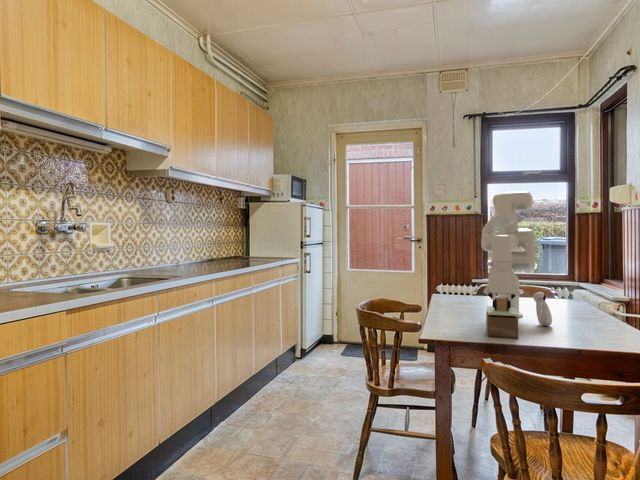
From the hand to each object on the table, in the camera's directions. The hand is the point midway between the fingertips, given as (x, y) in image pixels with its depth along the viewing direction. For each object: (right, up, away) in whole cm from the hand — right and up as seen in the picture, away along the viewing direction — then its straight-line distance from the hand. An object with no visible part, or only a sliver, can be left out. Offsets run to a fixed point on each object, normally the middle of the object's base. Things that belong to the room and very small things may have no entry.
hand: (501, 309), depth 175 cm
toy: (+24, -9, +13) cm, 29 cm away
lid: (0, -1, +1) cm, 1 cm away
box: (0, -10, 0) cm, 10 cm away
